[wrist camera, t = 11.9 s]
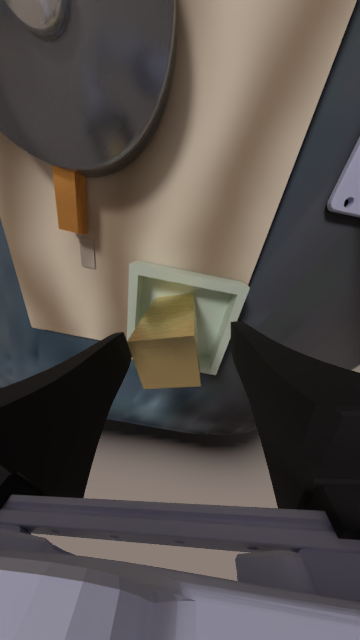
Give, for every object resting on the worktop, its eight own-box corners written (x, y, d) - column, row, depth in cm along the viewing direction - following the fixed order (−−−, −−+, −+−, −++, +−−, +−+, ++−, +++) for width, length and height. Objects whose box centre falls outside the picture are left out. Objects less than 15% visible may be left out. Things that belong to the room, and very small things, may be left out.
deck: (381, -86, 6) (409, -135, 5) (217, 357, 16) (218, 363, 15) (-97, -201, 6) (-143, -272, 5) (39, 323, 16) (30, 327, 15)
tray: (242, 281, 12) (250, 287, 10) (213, 361, 15) (215, 375, 14) (138, 260, 12) (129, 263, 10) (133, 345, 15) (126, 358, 14)
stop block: (193, 292, 12) (194, 335, 7) (197, 327, 13) (201, 386, 8) (155, 297, 12) (126, 341, 7) (162, 330, 14) (143, 388, 8)
